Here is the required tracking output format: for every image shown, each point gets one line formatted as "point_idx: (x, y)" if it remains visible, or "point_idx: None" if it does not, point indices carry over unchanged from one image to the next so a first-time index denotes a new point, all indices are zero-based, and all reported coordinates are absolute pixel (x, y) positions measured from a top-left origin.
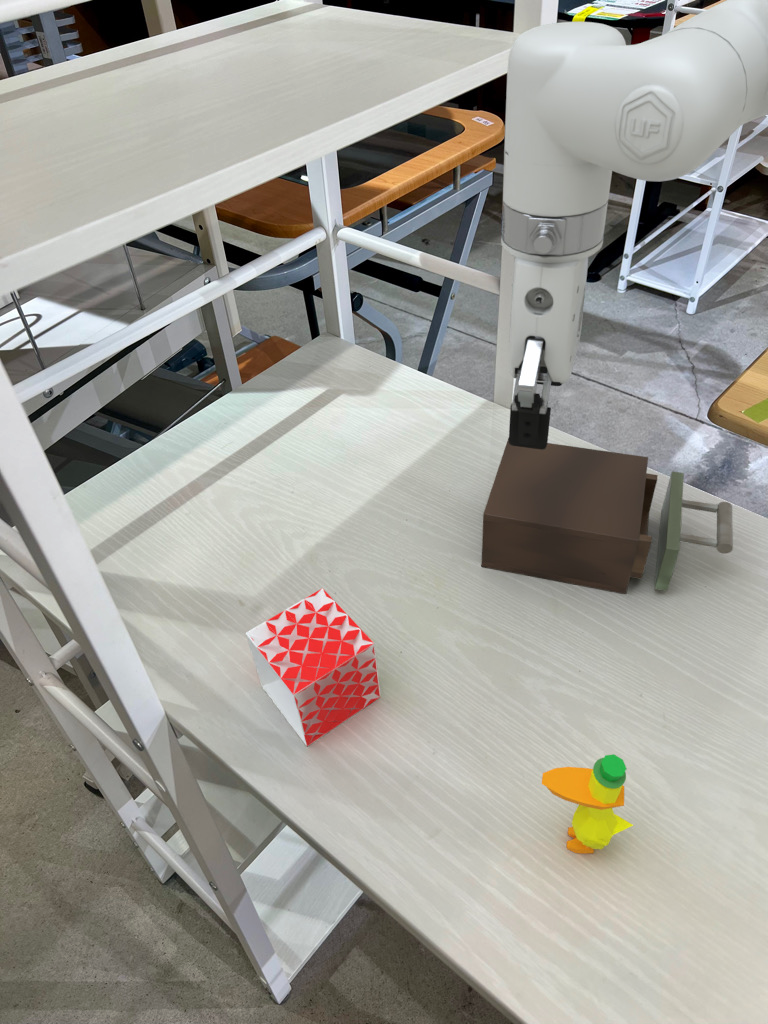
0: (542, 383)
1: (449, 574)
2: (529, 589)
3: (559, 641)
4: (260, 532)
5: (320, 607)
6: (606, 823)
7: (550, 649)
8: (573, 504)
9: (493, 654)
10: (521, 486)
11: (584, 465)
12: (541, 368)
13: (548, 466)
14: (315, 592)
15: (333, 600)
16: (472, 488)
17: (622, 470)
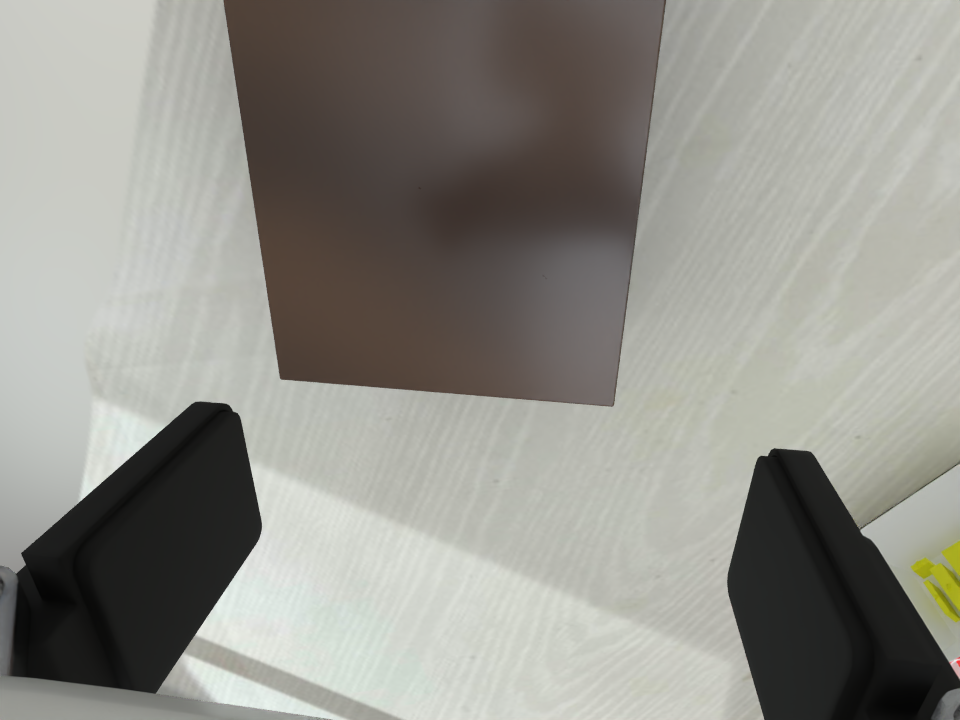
0: (250, 486)
1: (636, 384)
2: (658, 213)
3: (821, 121)
4: (581, 681)
5: None
6: None
7: (848, 140)
8: (528, 165)
9: (864, 265)
10: (480, 324)
11: (331, 149)
12: (205, 555)
13: (371, 260)
14: None
15: (952, 661)
16: None
17: (316, 10)
